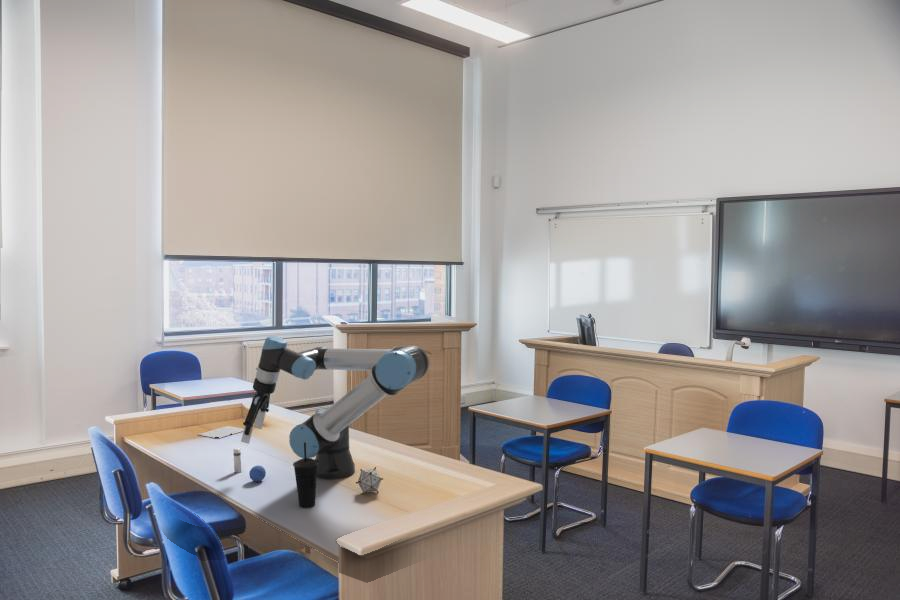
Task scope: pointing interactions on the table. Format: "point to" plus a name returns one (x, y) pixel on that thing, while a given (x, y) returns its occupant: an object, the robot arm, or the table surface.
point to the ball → (257, 473)
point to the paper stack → (222, 432)
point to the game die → (369, 480)
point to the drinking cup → (306, 480)
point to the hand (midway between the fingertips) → (251, 435)
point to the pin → (237, 460)
